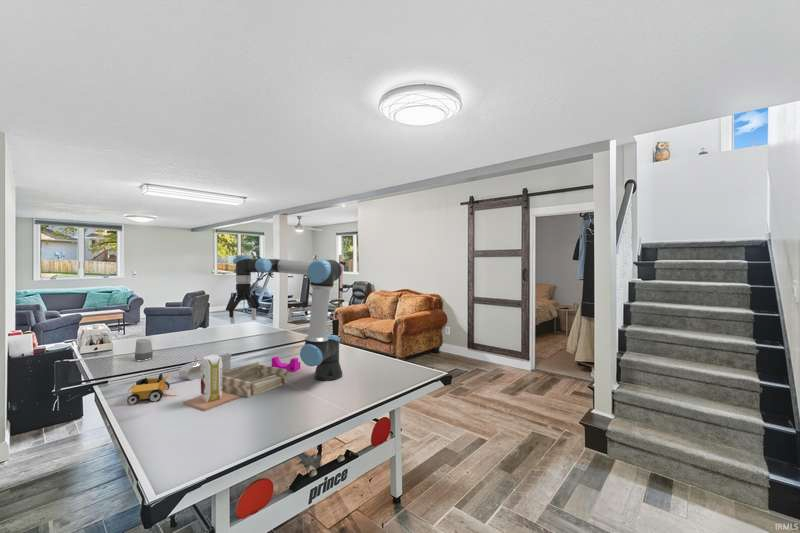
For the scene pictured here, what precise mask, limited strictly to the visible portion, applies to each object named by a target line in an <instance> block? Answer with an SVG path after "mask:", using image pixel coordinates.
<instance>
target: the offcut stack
mask: <svg viewBox="0 0 800 533" xmlns="http://www.w3.org/2000/svg"><path fill="white" fill-rule="evenodd" d="M283 385H284V383H281V377H279V376H275V375H272V376H269V377H265V378H262V379H259V380H255V381H252V382H250V392H251V395H252V396H256V395H259V394H263V393H265V392H269V391H271V390H273V389H277V388H280V387H282V386H283Z"/></svg>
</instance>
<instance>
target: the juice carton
mask: <svg viewBox="0 0 800 533" xmlns="http://www.w3.org/2000/svg"><path fill="white" fill-rule="evenodd" d="M200 360H201V377H200V396H202V399H203V400H205V402H211V401H215V400H219V399H221V397H222V392H223V391H222V359H221V357H218V354H212V355H206V356H202V357H201V359H200Z"/></svg>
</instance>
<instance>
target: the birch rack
mask: <svg viewBox="0 0 800 533" xmlns="http://www.w3.org/2000/svg"><path fill="white" fill-rule="evenodd" d="M272 375H275V376H279V377H281V383H283V384H288V371H287V369H282V368H276V367H272V365H265V364H260V362H259V361H256V362H253V363H250V364H246V365H243V366H239V367H237V368H232V369H229V370H228V371H225V372H222V392H226V393H229V394H233V395H237V396H239V397H243V398H247V399H249V398H251V392H250V382H252V381H255V380H259V379H262V378H265V377H269V376H272Z"/></svg>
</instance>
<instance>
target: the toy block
mask: <svg viewBox="0 0 800 533" xmlns="http://www.w3.org/2000/svg"><path fill="white" fill-rule="evenodd" d="M271 367H276V368H282V369H287V372H289V373H290V372H292V373H296V372H297V371H299V370H301V361H299V358H298V357H293V358H291V359H290V362H289V363H287V362H283V363H282V361H280V359H279V356H274V357H271Z"/></svg>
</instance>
